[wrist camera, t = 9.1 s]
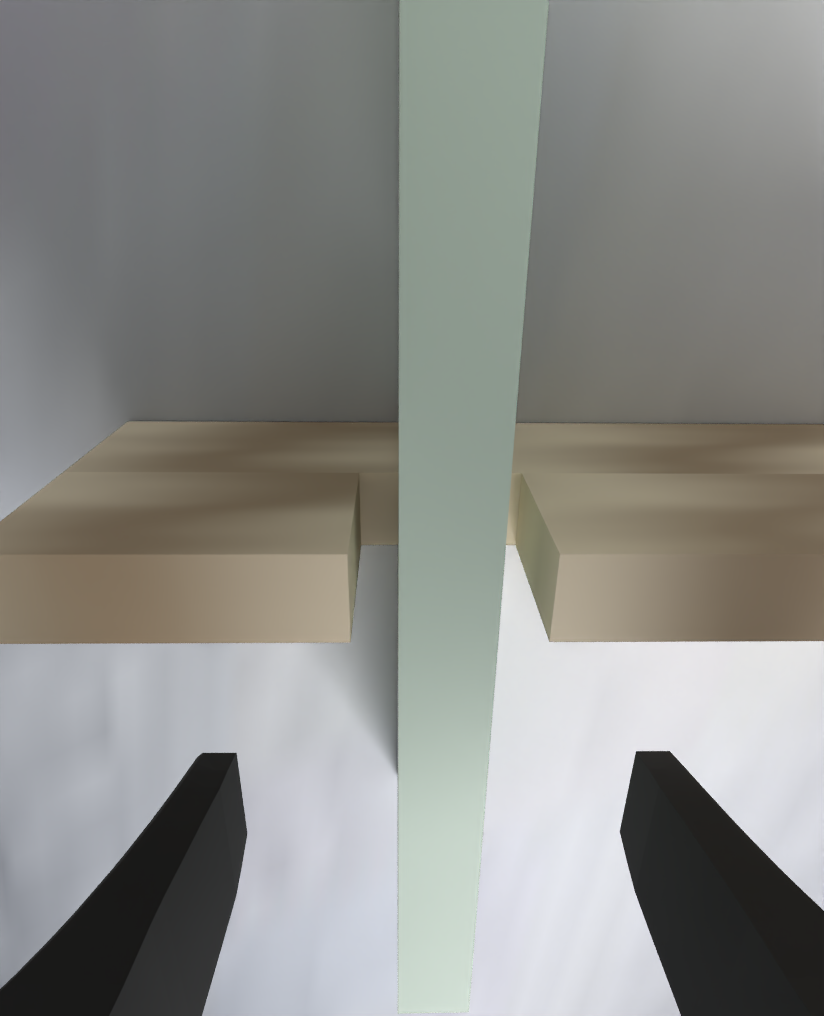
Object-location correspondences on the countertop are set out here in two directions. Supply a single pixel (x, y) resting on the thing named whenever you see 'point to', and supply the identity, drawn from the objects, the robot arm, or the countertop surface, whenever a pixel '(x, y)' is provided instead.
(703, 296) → the countertop surface
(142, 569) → the maple slat
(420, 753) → the green plate
